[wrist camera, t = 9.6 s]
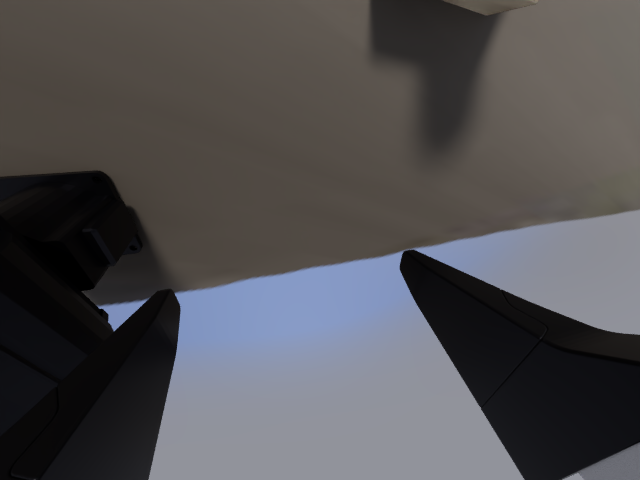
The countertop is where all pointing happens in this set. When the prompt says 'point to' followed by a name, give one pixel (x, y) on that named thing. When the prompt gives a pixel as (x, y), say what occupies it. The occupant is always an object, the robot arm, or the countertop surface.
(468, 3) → the beech block
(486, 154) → the countertop surface
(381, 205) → the countertop surface
